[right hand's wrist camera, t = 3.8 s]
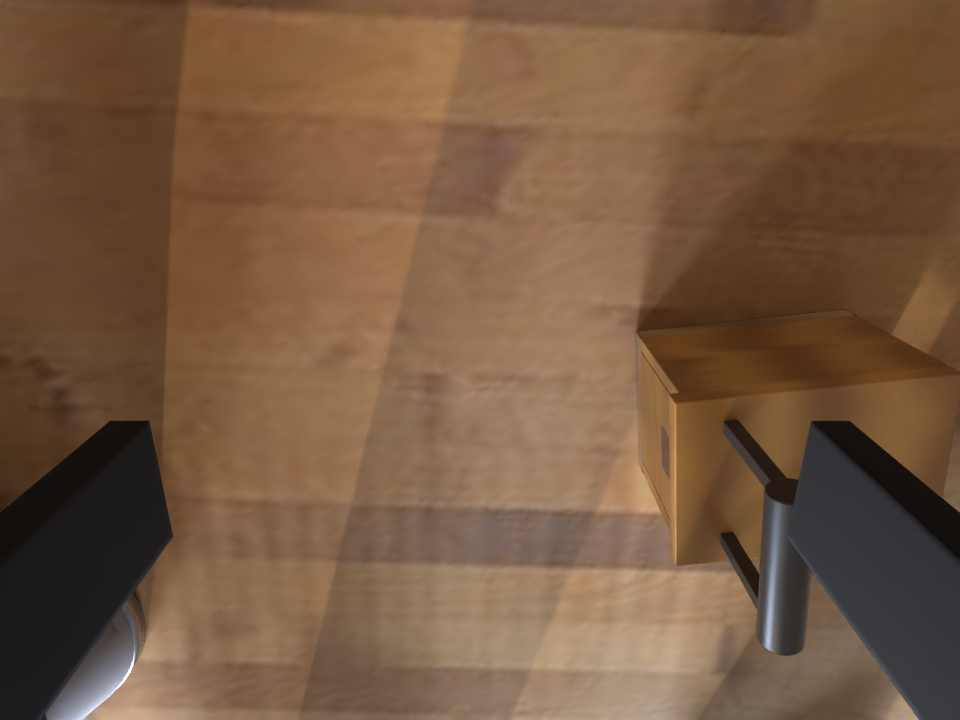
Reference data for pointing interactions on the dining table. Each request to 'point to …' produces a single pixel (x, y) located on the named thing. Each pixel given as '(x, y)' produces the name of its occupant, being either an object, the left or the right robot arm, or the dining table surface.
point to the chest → (751, 367)
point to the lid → (788, 472)
